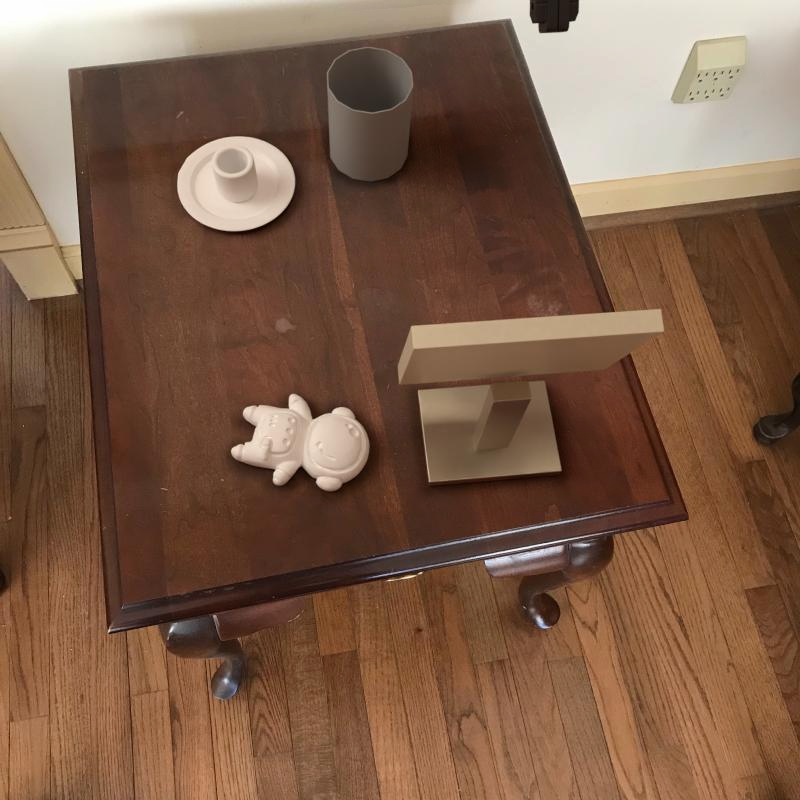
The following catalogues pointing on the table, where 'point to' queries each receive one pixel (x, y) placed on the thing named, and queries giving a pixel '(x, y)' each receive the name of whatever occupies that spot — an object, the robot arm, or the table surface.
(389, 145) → the cup
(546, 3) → the robot arm
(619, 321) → the monitor screen
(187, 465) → the table surface
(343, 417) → the astronaut figurine
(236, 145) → the candle holder
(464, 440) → the monitor stand
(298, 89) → the table surface
